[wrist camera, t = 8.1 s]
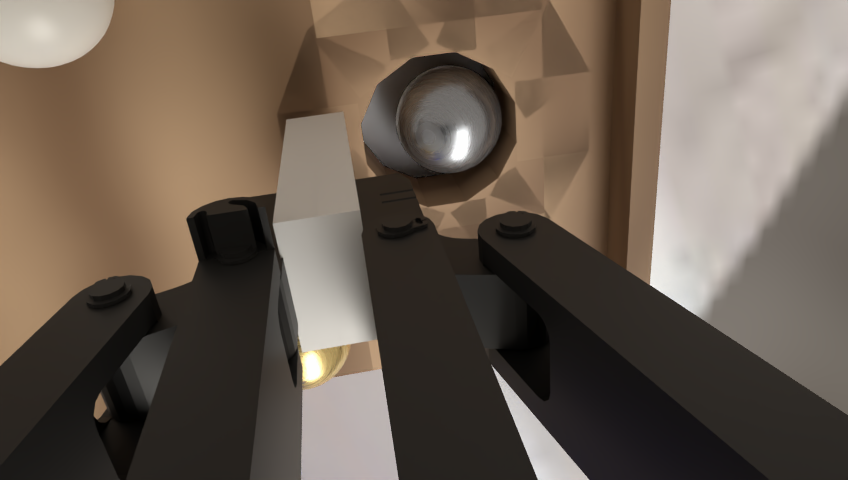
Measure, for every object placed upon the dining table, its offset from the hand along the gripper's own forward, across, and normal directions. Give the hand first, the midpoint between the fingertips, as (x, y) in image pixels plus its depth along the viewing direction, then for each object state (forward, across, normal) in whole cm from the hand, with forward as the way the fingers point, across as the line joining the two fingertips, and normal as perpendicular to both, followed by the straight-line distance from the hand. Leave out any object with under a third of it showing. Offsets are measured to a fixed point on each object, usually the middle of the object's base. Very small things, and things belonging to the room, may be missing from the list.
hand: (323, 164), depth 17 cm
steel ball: (+2, +4, 0) cm, 4 cm away
